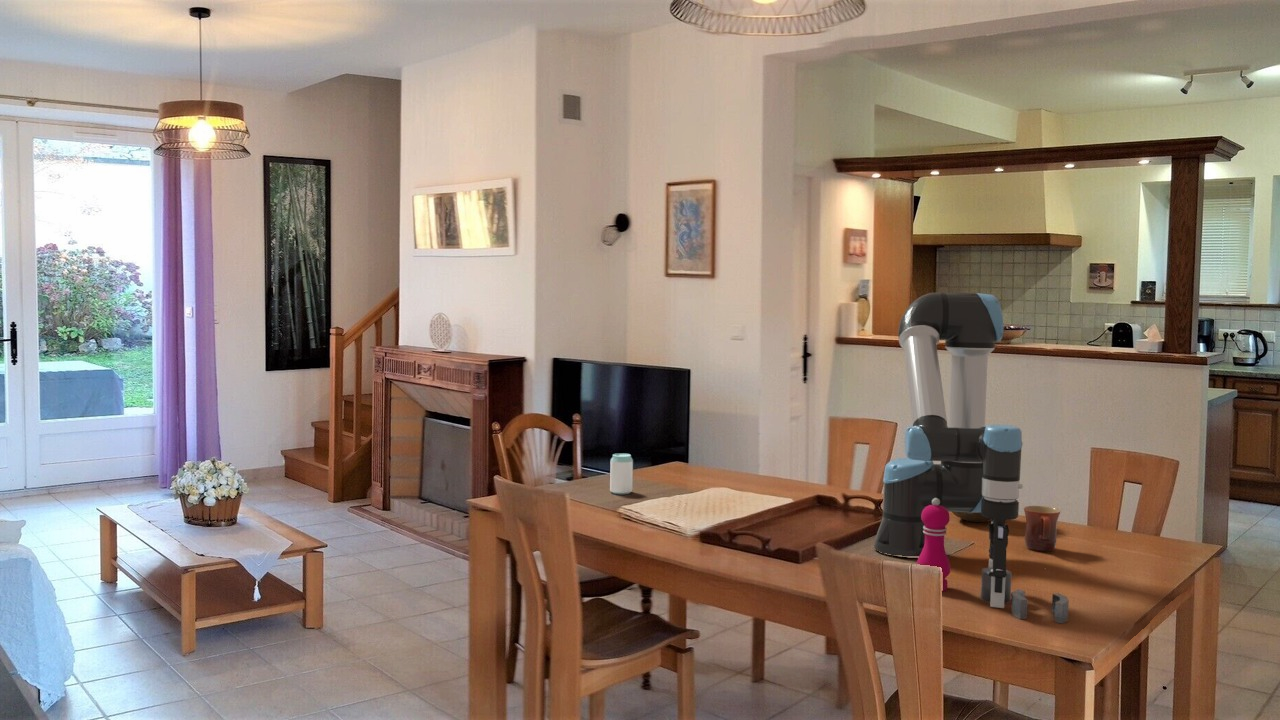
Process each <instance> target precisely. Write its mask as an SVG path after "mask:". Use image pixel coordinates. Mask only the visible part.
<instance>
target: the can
mask: <svg viewBox="0 0 1280 720" xmlns="http://www.w3.org/2000/svg"><path fill="white" fill-rule="evenodd" d="M609 467H610V471H609V473H610V475H609V479H610V480H609V491H610V492H611V493H612V494H613V495H629V494H631V493H632V492H633V487H634V486H633V482H634V481H633V479H634V478H633V477H634V459H633V458H632V455H631V454H630V453H613V454H612V457H611V458H610V466H609Z"/></svg>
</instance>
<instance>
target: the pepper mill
mask: <svg viewBox="0 0 1280 720" xmlns="http://www.w3.org/2000/svg"><path fill="white" fill-rule="evenodd" d="M932 504H933V505H929V506H926V507H925V508H924V509H923V511H922V514H921V519H922V521H923V523H924V524H925V526H923V528H924V530H923V533H924V534H925V544H924V547H923V550H922V552H921V554H920V556H919V558H917V560H916V565H917V564H920V565H930V566H937V567H941V568H942V572H943V591H942V592H944V591H947V589H948V580H947V579H946V578H947V577H948V576H949V575H950V573H951V564H950V559H949V557H948V555H947V553H946V548H945V536H946V535H947V533H948V532H947V529H948V528H947V527H946V526H947V525H948V524H949V522H950V519H951V518H950V513H949V512H948V511H947V509H946V508H944V507H943V506H940V505H939V504H940V500H939V499H938V498H934V499H933V500H932Z"/></svg>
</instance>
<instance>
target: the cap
mask: <svg viewBox="0 0 1280 720" xmlns="http://www.w3.org/2000/svg"><path fill="white" fill-rule="evenodd" d="M996 570H1000V569H996ZM1001 571H1002V570H1001ZM989 572H993V568H989V567H984V568H982V569H981V583H980V599H981V600H983V601H985V602H988V603H990V598H991V576H989ZM1006 573H1007V575H1006V578H1005V599H1004V604H1009V603H1011V600H1012V577H1013V576H1012V571H1010V570H1008V569H1006Z"/></svg>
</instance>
